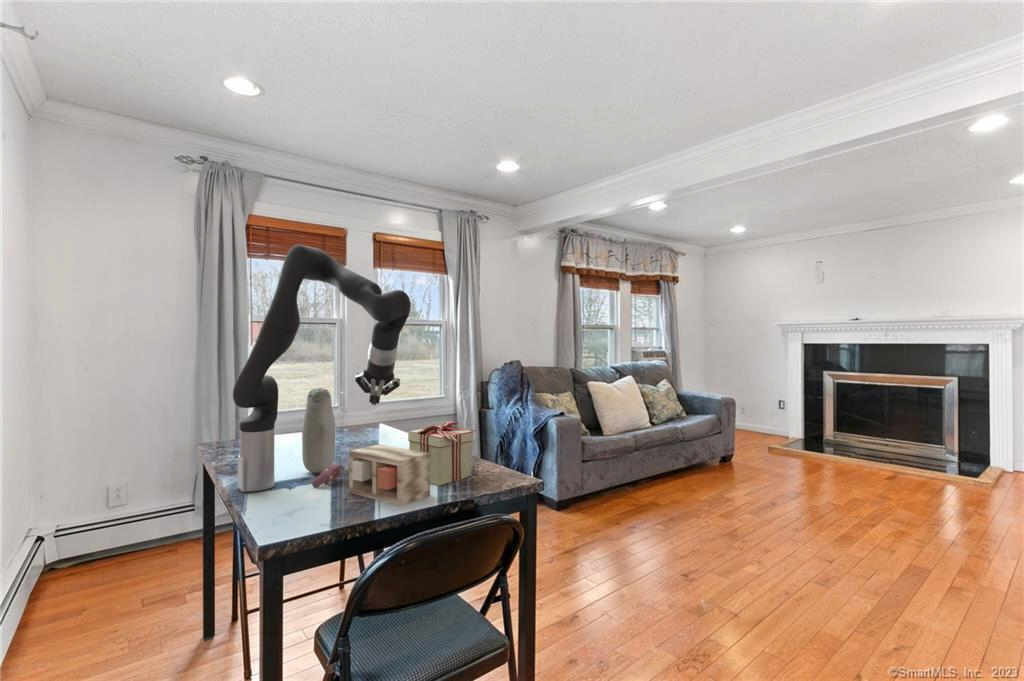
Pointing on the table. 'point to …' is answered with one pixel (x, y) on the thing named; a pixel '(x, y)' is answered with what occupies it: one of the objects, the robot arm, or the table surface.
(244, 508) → the table surface
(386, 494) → the box
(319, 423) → the off-white bottle
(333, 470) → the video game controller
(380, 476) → the rust-red plug
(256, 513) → the table surface
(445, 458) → the gift box
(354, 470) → the off-white plug
